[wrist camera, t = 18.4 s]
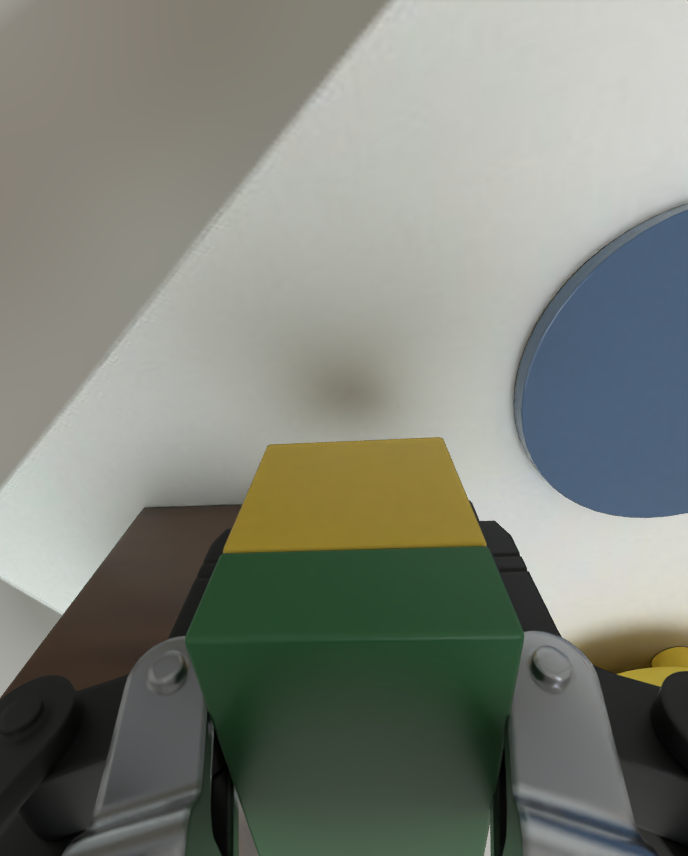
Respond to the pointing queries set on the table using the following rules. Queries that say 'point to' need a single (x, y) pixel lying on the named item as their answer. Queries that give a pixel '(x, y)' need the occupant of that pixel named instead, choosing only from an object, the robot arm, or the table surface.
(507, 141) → the table surface
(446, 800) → the sponge
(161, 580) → the tall dark wooden block
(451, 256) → the table surface
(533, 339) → the plate
